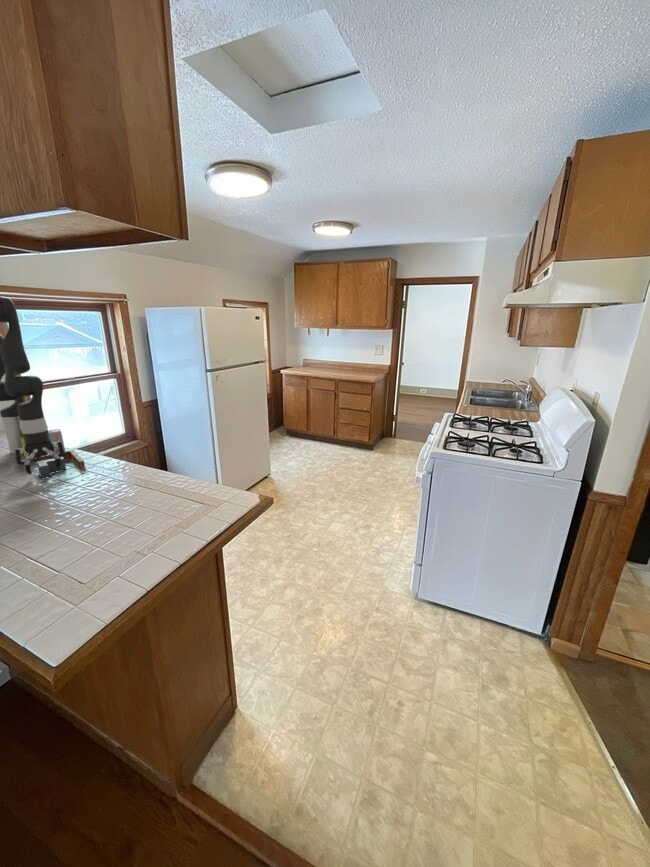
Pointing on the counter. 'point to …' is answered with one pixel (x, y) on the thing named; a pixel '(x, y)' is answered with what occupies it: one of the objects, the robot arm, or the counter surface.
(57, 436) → the energy drink
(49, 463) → the bracket
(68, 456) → the brown angled frame
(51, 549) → the counter surface
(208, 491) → the counter surface
